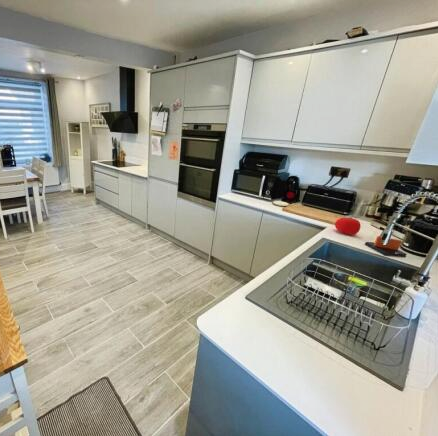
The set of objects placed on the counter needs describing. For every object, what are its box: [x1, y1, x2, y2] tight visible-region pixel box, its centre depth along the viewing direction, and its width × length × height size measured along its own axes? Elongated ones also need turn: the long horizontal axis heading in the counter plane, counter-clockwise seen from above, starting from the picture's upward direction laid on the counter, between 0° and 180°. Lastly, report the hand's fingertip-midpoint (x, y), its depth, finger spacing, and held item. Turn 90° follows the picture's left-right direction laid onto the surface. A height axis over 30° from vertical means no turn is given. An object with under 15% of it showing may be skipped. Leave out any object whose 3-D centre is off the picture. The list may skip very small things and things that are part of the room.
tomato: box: [334, 216, 361, 236], centre depth 166 cm, size 12×14×12 cm
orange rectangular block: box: [374, 235, 403, 250], centre depth 142 cm, size 11×2×6 cm, turn 68°
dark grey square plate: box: [364, 241, 408, 258], centre depth 144 cm, size 15×15×2 cm
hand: (406, 222), depth 141 cm, fingers closed
